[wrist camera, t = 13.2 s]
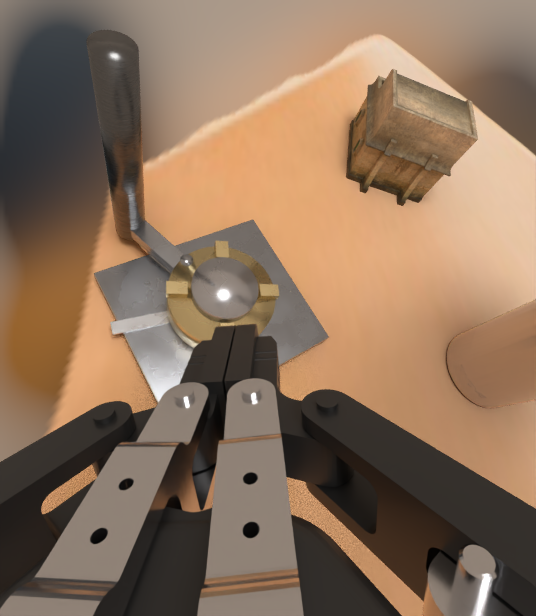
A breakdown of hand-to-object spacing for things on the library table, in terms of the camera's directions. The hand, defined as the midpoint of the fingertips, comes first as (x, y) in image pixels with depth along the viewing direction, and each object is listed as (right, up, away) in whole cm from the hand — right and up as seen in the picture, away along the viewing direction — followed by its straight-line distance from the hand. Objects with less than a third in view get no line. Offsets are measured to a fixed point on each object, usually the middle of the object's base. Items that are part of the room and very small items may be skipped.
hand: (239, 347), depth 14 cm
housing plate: (-4, +1, +24) cm, 24 cm away
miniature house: (+19, +23, +42) cm, 51 cm away
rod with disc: (-7, +4, +23) cm, 24 cm away
